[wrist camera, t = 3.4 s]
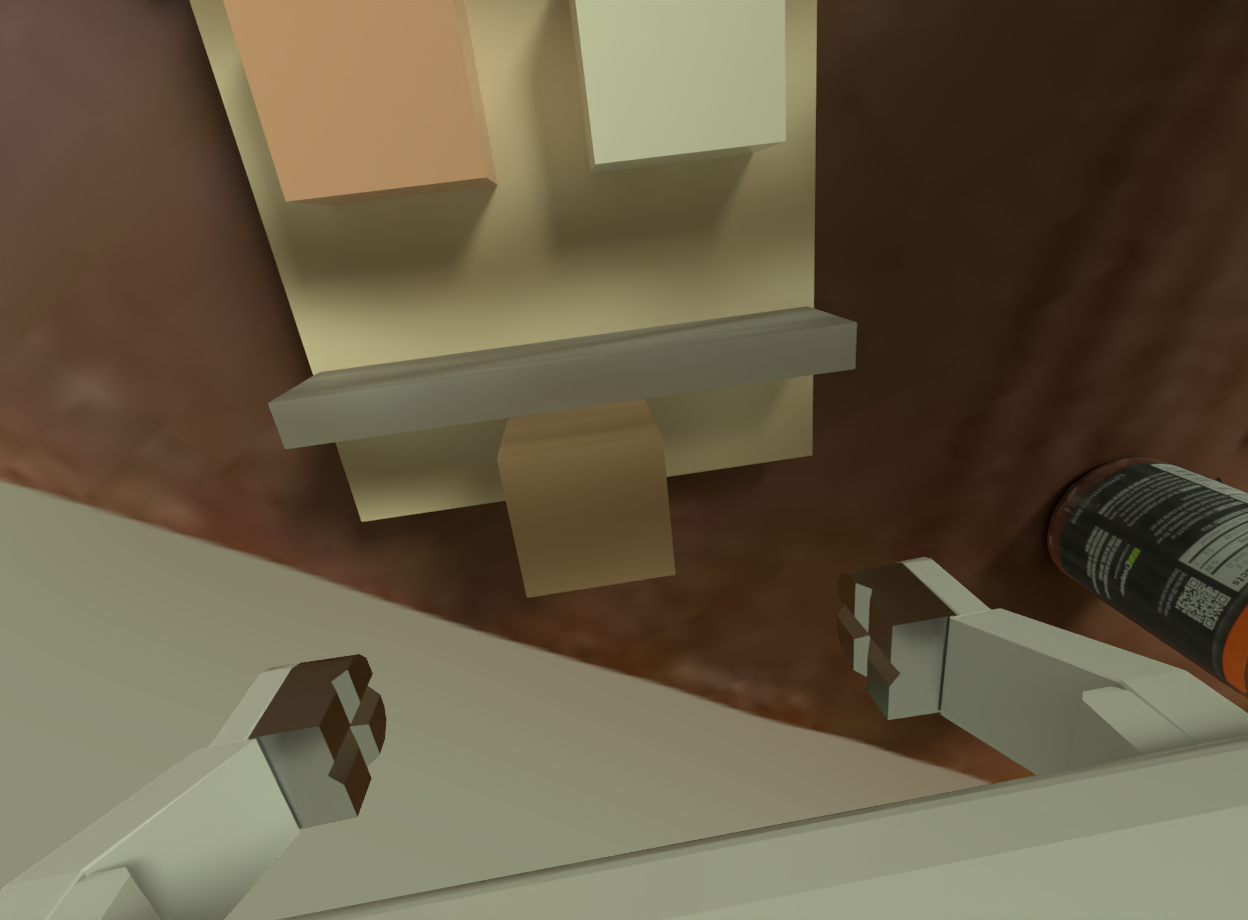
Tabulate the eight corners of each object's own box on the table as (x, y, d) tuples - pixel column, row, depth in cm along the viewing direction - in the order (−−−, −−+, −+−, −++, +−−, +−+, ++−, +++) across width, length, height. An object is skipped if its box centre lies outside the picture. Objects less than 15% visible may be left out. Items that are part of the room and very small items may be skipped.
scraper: (319, 372, 17) (201, 443, 11) (807, 306, 18) (920, 343, 12) (365, 514, 19) (282, 636, 13) (806, 449, 19) (904, 538, 14)
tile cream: (564, -34, 14) (565, -86, 12) (747, -54, 14) (784, -108, 12) (590, 173, 16) (595, 164, 13) (753, 153, 16) (785, 141, 14)
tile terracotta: (267, -4, 14) (206, -51, 11) (460, -24, 14) (439, -73, 11) (327, 205, 15) (285, 201, 13) (497, 184, 15) (486, 177, 13)
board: (213, -68, 15) (149, -122, 13) (781, -124, 16) (819, -184, 13) (383, 489, 21) (361, 522, 19) (785, 431, 22) (812, 455, 19)
